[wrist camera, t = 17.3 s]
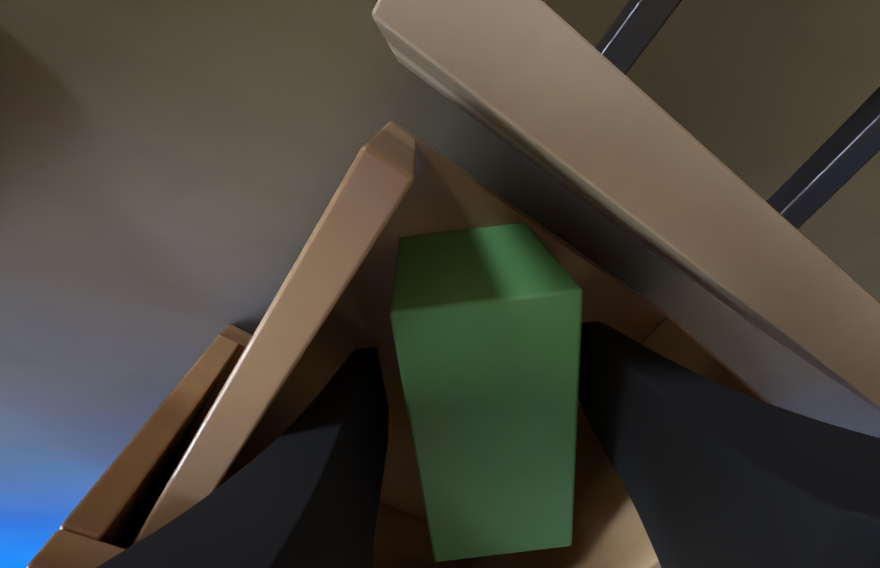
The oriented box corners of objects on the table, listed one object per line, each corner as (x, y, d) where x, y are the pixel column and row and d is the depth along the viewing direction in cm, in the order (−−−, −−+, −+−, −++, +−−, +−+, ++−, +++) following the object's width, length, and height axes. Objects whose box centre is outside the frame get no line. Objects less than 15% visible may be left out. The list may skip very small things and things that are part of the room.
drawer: (586, -277, 8) (999, -1193, 2) (902, 99, 11) (1404, 102, 5) (195, 415, 14) (51, 623, 9) (467, 528, 18) (491, 734, 12)
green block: (398, 236, 11) (388, 312, 7) (526, 221, 11) (584, 289, 7) (429, 434, 14) (433, 564, 10) (530, 422, 14) (573, 547, 10)
